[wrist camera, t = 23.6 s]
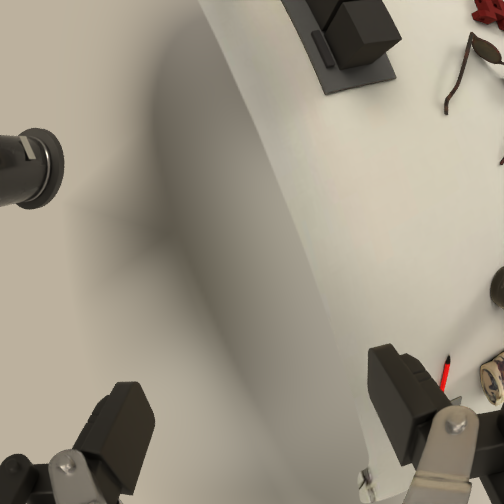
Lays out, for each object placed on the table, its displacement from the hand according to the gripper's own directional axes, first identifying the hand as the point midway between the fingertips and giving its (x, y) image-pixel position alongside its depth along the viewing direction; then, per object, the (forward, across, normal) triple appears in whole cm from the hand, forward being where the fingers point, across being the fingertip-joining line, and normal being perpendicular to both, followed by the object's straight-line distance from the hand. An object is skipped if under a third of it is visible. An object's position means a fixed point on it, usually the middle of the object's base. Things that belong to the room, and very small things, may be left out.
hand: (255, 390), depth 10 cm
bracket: (+28, +45, +31) cm, 61 cm away
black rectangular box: (+27, +15, +20) cm, 37 cm away
